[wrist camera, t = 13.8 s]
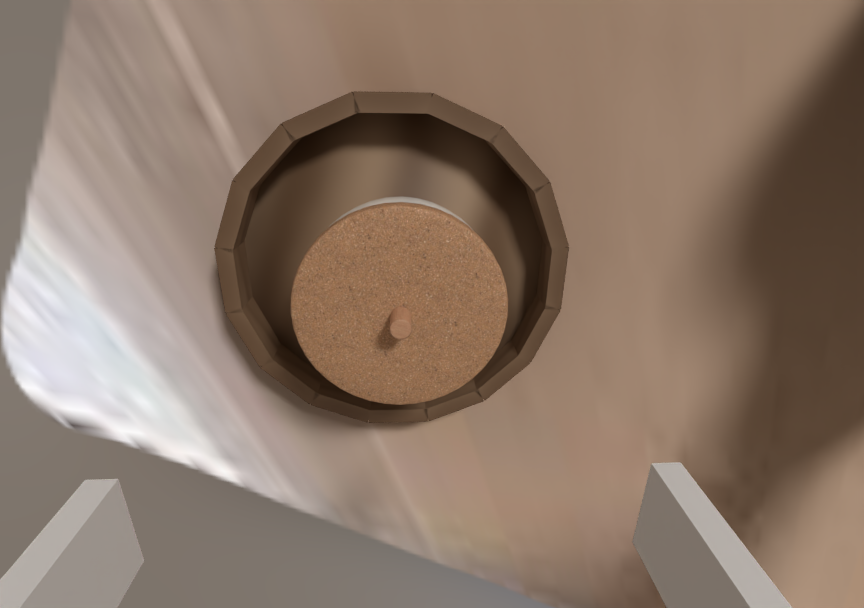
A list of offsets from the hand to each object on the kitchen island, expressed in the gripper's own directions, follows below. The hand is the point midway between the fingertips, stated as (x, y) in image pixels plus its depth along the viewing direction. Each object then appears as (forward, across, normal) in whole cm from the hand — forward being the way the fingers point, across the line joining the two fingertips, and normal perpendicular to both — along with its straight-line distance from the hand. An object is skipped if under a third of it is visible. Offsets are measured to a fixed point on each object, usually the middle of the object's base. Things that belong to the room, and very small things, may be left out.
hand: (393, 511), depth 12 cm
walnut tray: (+21, 0, 0) cm, 21 cm away
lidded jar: (+20, 0, 0) cm, 20 cm away
